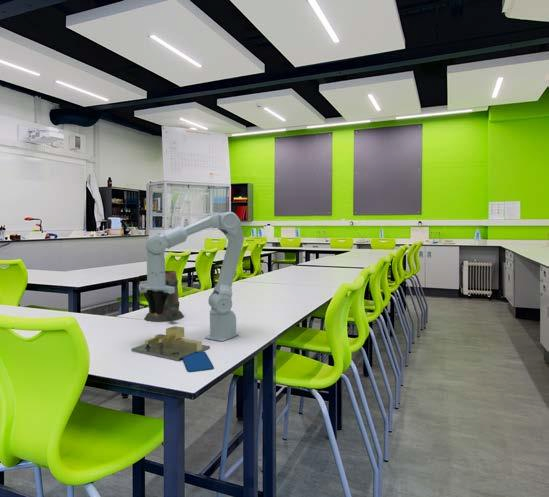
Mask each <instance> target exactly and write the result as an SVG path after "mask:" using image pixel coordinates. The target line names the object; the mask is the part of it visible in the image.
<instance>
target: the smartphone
mask: <svg viewBox="0 0 549 497" xmlns="http://www.w3.org/2000/svg"><path fill="white" fill-rule="evenodd" d="M181 361H182V362H183V365H184V368H185V370H186V371H187V373H195V372H197V373H198V372H204V371H205V372H206V371H211V370H214V369H215V367H214V365H213V362H212V361H211V359H210V357H209V356H208V354H207V352H206V351H202V352H195V353H193V354H191V355H189V356H186V357H184V358H183V359H182V360H181Z"/></svg>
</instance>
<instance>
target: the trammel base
mask: <svg viewBox="0 0 549 497" xmlns="http://www.w3.org/2000/svg"><path fill="white" fill-rule="evenodd" d="M163 337H166V334H161V333H160V334H156V335H154V337H153V338H150V339H147V340H145V341H144V342H145V343H144V344H141V345H138V346H135V347H132V348H131V349H130V350H131V352H133V353H134V352H135V353H140V354H144V355H148V356H154V357H158V358H162V359H168V360H170V361H171V360H172V361H176V362H180V361H183V360H182V359H183V358H184V357H186V356H189V355H191V354H193V353H195V352H202V351H204V352H206V351H208V350H210V349H211V345H205V344H203V342H202V341H200V340H194V339H189V338H185V337H182V338H179V339H176V340H174V339H171V340H168V341H165V342H163V350H160V342H159V339H160V338H163Z"/></svg>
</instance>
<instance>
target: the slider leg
mask: <svg viewBox="0 0 549 497" xmlns="http://www.w3.org/2000/svg"><path fill="white" fill-rule="evenodd" d="M165 335H166V337H163V338H160V339H159V342H160V350H163V342H165V341H168V340H171V339H174V340H176V339H179V338H185V327H183V326H177V325H174V326H170V327H168V328H165Z"/></svg>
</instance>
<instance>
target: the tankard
mask: <svg viewBox="0 0 549 497" xmlns="http://www.w3.org/2000/svg"><path fill="white" fill-rule="evenodd" d="M178 284H179V280H178V277H177V272H176V270H165V285H167V286H171V287H175V293H172V294H169V296H168V298H167V300H166V302H165V305H164V309H163V313H162V314H156V313H154V314H151V310H150V307H149V306H148V313H147V314H146V315H145V317H144V318H143V321H145V320H146V322H149V321H150V322H149V323H167V322H175V321H178V320H182V319H184V318H185V316H184V314H183V313H182V311H180V301H179V287H178Z"/></svg>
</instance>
